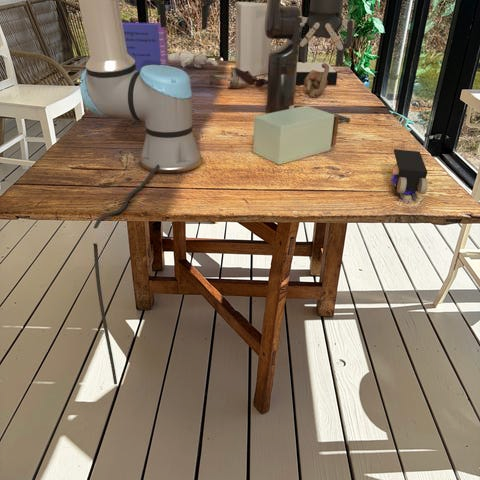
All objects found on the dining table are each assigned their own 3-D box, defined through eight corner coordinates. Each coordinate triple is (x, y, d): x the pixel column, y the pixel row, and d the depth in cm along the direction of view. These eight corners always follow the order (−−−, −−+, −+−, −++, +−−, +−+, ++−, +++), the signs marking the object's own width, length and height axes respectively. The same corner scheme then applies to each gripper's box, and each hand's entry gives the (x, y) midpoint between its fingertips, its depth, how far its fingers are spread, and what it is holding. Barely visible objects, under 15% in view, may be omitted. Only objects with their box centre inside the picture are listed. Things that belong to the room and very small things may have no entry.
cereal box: (169, 88, 189) (165, 22, 177) (167, 91, 185) (163, 24, 172) (126, 87, 190) (119, 21, 177) (123, 90, 186) (115, 23, 173)
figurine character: (424, 210, 105) (414, 176, 117) (433, 180, 100) (421, 147, 112) (393, 207, 106) (386, 174, 118) (400, 178, 101) (392, 146, 113)
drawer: (325, 131, 144) (328, 104, 140) (349, 140, 137) (353, 112, 133) (265, 146, 132) (266, 117, 127) (288, 157, 125) (290, 127, 121)
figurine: (210, 87, 179) (288, 95, 182) (212, 65, 176) (291, 73, 180) (208, 84, 201) (278, 91, 205) (210, 64, 198) (280, 71, 202)
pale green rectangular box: (303, 139, 140) (306, 105, 135) (330, 150, 133) (334, 114, 128) (253, 152, 131) (254, 116, 125) (278, 164, 123) (281, 126, 118)
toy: (173, 75, 210) (172, 58, 207) (149, 64, 228) (148, 49, 224) (220, 69, 222) (220, 53, 218) (194, 59, 239) (193, 45, 236)
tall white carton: (273, 76, 210) (276, 6, 196) (239, 77, 209) (240, 6, 194) (266, 67, 226) (268, 2, 212) (235, 67, 225) (235, 1, 210)
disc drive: (294, 84, 198) (295, 72, 195) (288, 72, 217) (289, 61, 215) (336, 84, 198) (337, 72, 196) (326, 73, 218) (327, 61, 215)
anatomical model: (314, 99, 193) (314, 101, 179) (299, 84, 192) (297, 84, 178) (337, 75, 188) (338, 74, 174) (321, 59, 188) (321, 57, 173)
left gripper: (225, -51, 138) (225, 28, 149) (146, -53, 144) (152, 24, 154) (217, -52, 132) (218, 31, 143) (135, -53, 137) (141, 27, 148)
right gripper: (362, -10, 110) (352, 64, 118) (302, -13, 114) (297, 58, 123) (355, -8, 104) (345, 70, 112) (293, -11, 108) (288, 64, 117)
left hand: (183, 28), depth 149 cm, fingers open, 13 cm apart
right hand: (320, 64), depth 118 cm, fingers open, 8 cm apart
